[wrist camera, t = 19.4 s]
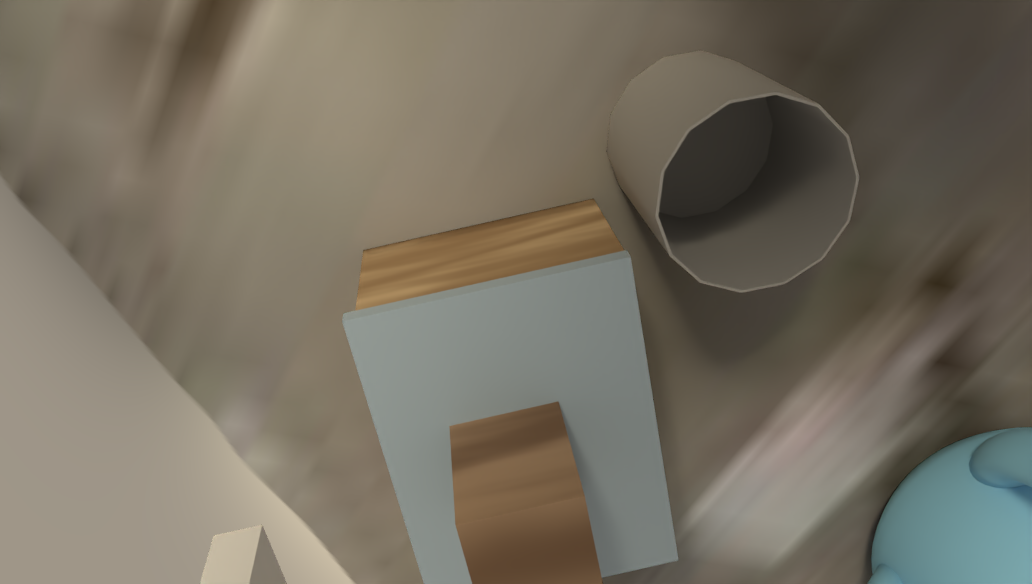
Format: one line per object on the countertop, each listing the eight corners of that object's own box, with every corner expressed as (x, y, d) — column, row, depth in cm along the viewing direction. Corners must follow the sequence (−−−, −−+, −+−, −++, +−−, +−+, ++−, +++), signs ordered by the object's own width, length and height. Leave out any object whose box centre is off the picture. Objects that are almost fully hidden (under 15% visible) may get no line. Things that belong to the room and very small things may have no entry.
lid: (343, 313, 39) (342, 321, 38) (626, 249, 39) (630, 256, 38) (433, 604, 46) (434, 616, 45) (674, 549, 46) (678, 560, 45)
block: (449, 426, 41) (455, 525, 34) (558, 401, 41) (584, 495, 34) (473, 514, 43) (483, 623, 37) (577, 490, 43) (605, 595, 37)
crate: (363, 250, 46) (354, 317, 39) (593, 198, 47) (627, 255, 39) (436, 500, 53) (440, 597, 46) (637, 454, 53) (673, 543, 46)
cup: (720, 16, 44) (802, 49, 35) (798, 151, 47) (891, 214, 38) (574, 119, 45) (616, 178, 36) (659, 244, 48) (718, 327, 39)
